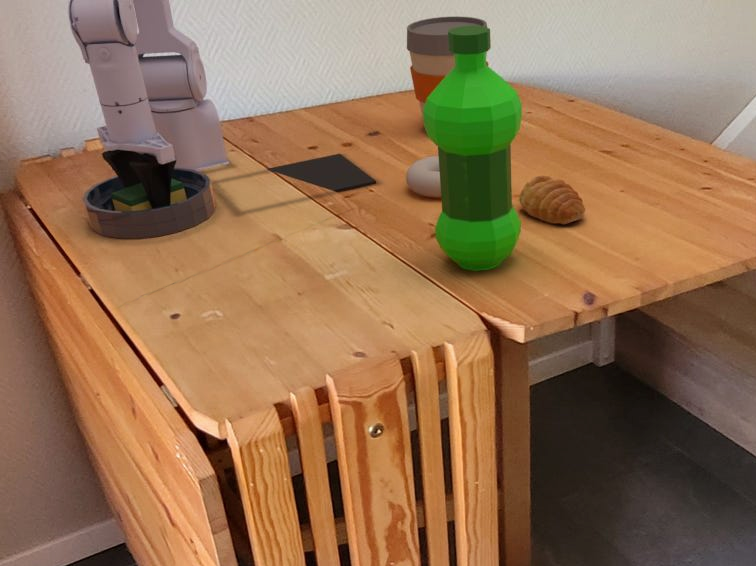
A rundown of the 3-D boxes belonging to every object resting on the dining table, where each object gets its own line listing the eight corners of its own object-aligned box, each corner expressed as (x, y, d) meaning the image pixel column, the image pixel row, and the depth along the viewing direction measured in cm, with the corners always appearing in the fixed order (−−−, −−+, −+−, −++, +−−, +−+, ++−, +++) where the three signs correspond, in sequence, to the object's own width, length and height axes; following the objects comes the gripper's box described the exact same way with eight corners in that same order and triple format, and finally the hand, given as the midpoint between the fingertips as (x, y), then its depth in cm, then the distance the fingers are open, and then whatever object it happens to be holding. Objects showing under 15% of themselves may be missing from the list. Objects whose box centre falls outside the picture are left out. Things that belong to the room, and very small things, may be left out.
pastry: (598, 219, 122) (599, 189, 119) (554, 232, 119) (554, 202, 117) (555, 197, 128) (555, 168, 126) (513, 209, 126) (512, 180, 123)
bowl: (198, 187, 137) (192, 159, 135) (231, 225, 126) (224, 195, 123) (82, 212, 132) (73, 183, 129) (104, 253, 120) (95, 222, 118)
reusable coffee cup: (445, 112, 161) (439, 13, 151) (507, 122, 155) (505, 20, 145) (397, 133, 153) (387, 30, 144) (460, 145, 147) (455, 39, 138)
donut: (395, 185, 135) (425, 206, 128) (393, 160, 133) (423, 180, 125) (459, 171, 138) (492, 191, 131) (457, 147, 136) (491, 165, 129)
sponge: (169, 201, 132) (163, 175, 130) (189, 208, 129) (182, 182, 127) (118, 219, 127) (110, 193, 125) (136, 227, 125) (129, 200, 123)
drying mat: (340, 156, 145) (339, 153, 145) (376, 183, 135) (376, 180, 135) (210, 183, 138) (209, 180, 138) (238, 214, 129) (237, 211, 128)
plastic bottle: (463, 238, 119) (450, 16, 104) (539, 253, 115) (537, 23, 99) (418, 269, 112) (398, 37, 97) (497, 286, 108) (489, 46, 92)
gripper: (64, 98, 121) (95, 204, 129) (127, 118, 113) (156, 229, 121) (114, 85, 125) (141, 188, 133) (178, 103, 117) (202, 211, 125)
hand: (151, 206), depth 128 cm, fingers closed on sponge, 4 cm apart
